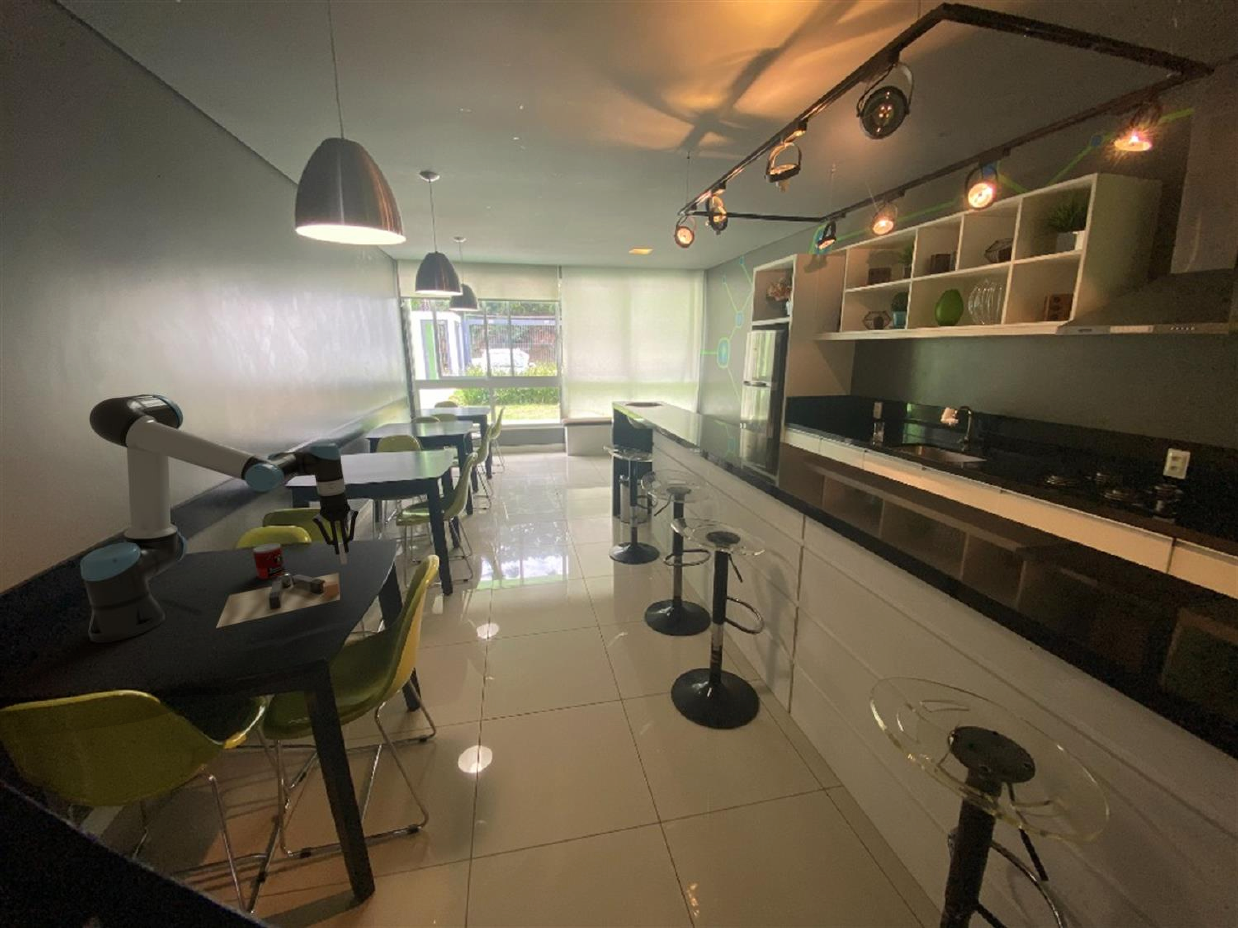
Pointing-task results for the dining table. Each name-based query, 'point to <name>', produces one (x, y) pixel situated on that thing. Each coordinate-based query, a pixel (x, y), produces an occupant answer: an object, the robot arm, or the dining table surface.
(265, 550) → the canned food
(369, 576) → the dining table surface
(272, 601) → the tongs fixed
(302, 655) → the dining table surface
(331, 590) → the orange block
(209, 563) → the dining table surface
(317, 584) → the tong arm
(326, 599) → the board
